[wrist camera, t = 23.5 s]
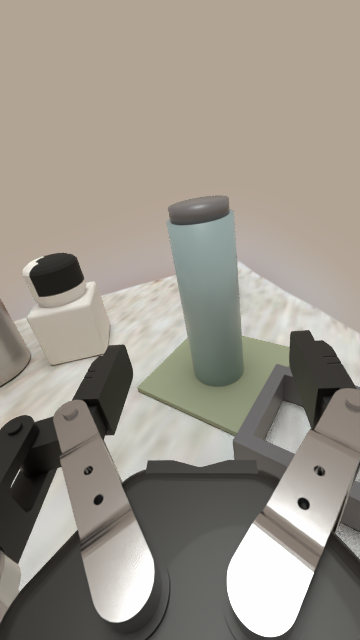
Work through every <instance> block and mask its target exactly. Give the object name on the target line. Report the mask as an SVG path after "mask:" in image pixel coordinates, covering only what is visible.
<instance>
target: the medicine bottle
mask: <svg viewBox="0 0 360 640" xmlns="http://www.w3.org/2000/svg"><path fill="white" fill-rule="evenodd" d="M22 275H23V277H24V279H25V281H26V283H27V285H28V287H29V289H30V291H31V293H32V295H33V297H34V299H35V301H36V304H35V305H34V307H33V309H32V310H31V312H30V313H29V315H28V316H27V321H28V323H29V324H30V326H31V328H32V330H33V332H34V334H35V336H36V338H37V340H38V342H39V344H40V345H41V347H42V349H43V351H44V353H45V355H46V357H47V359H48V361H49V363H50V364H51V365H56V364H60V363H65V362H69V361H74V360H78V359H83V358H87V357H92V356H96V355H101V354H104V353H105V351H106V349H107V347H108V340H109V331H110V322H109V319H108V316H107V313H106V310H105V307H104V304H103V302H102V299H101V296H100V293H99V290H98V287H97V284H96V282H88V283H86V282H85V279H84V276H83V274H82V271H81V269H80V266H79V263H78V260H77V258H76V257H75V256H74V255H72V254H67V253H57V254H51V255H47V256H43V257H40V258H38V259H35V260H33V261H32V262H30V263H29V264H28V265H27V266H25V268H24V269H23V272H22Z"/></svg>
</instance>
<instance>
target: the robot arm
mask: <svg viewBox="0 0 360 640" xmlns="http://www.w3.org/2000/svg"><path fill="white" fill-rule="evenodd" d="M30 356H31V355H30V351H29V349H28V348H27V346H26V344H25V342H24V340H23V339H22V337H21V335H20V333H19V331H18V330H17V327H16V326H15V324H14V322H13V320H12V319H11V317H10V315H9V313H8V311H7V310H6V308H5V306H4V304H3V302H2V301H1V299H0V386H1V385H3V384H4V383H6V382H8V381H9V380H11V379H12V378H13V377H15V376H16V375H17V374H18V373H19V372H21V371H22V370H23V369H24V367H25V366H26V365H27V363H28V362H29V360H30ZM289 364H290V369H291V372H292V375H293V378H294V381H295V384H296V387H297V389H298V392H299V395H300V398H301V401H302V403H303V406H304V409H305V412H306V415H307V417H308V420H309V423H310V426H311V429H310V430H309V432H308V433H307V435H306V436H305V438H304V440H303V442H302V444H301V445H300V447H299V449H298V451H297V452H296V454H295V456H294V458H293V459H292V461H291V463H290V465H289V466H288V468H287V470H286V472H285V473H284V475H283V477H282V479H279V478H278V477H276V476H274V475H273V474H271V473H268V472H266V471H263V470H259V469H257V463H256V460H227V461H223V462H219V463H216V464H212V465H208V466H204V467H196V466H192V465H189V464H185V463H181V462H177V461H174V460H158V461H148V463H147V468H146V470H143V471H140V472H138V473H136V474H134V475H132V476H130V477H129V478H128V479H126V480H125V481H124V482H122V479H121V477H120V475H119V473H118V471H117V468H116V466H115V464H114V462H113V459H112V457H111V455H110V453H109V450H108V448H107V446H106V444H105V442H104V437H105V435H114V434H115V431H116V428H117V425H118V422H119V419H120V416H121V413H122V410H123V407H124V404H125V401H126V398H127V394H128V391H129V388H130V385H131V382H132V379H133V369H132V365H131V362H130V359H129V356H128V353H127V350H126V347H125V345H110V346H108V347H107V349H106V351H105V353H104V355H103V356H99V357H98V358H97V359H96V360H95V361H94V362H93V363H92V364H91V366H90V368H89V369H88V372H87V373H86V375H85V377H84V379H83V381H82V383H81V384H80V386H79V388H78V390H77V392H76V394H75V396H74V397H73V399H72V401H69V402H67V403H65V404H64V405H62V406H61V407H60V408H59V409H58V410H57V411H56V413H55V414H54V416H53V417H50V418H47V419H44V420H40V421H37V422H34V420H33V419H32V417H31V416H27V415H23V416H19V417H16V418H14V419H12V420H11V421H9V422H8V423H6V424H5V425H4V426H3V427H2V428H1V430H0V640H360V559H359V558H358V557H357V556H356V555H355V554H354V553H353V552H352V551H351V550H350V549H349V547H348V546H347V545H346V544H345V543H344V542H343V541H342V540H341V539H340V538H339V537H338V536H337V535H336V531H337V528H338V526H339V523H340V520H341V518H342V515H343V512H344V509H345V506H346V503H347V500H348V498H349V495H350V492H351V490H352V487H353V485H354V482H355V479H356V477H357V474H358V471H359V469H360V390H357V388H356V387H355V385H354V383H353V382H352V380H351V378H350V377H349V375H348V373H347V372H346V370H345V368H344V367H343V365H342V364H341V362H340V360H339V358H338V357H337V355H336V353H335V351H334V350H333V348H332V347H331V346H330V345H328V344H327V343H326V342H324V341H323V340H321V341H315V340H314V338H313V336H312V334H311V332H310V331H309V330H305V331H292V332H291V335H290V350H289ZM59 467H62V470H63V474H64V478H65V482H66V485H67V489H68V493H69V497H70V501H71V505H72V509H73V513H74V517H75V521H76V525H77V529H78V530H77V531H76V532H75V533H74V534H73V535H72V536H71V537H70V539H69V540H68V541H67V542H66V543H65V544H64V545H63V546H62V547H61V548H60V549H59V550H58V551H57V552H56V553H55V555H54V556H53V557H52V558H51V559H50V560H49V561H48V562H47V563H46V564H45V565H44V566H43V567H42V568H41V570H40V571H39V572H38V573H37V574H36V575H35V576H34V577H33V578H32V579H31V580H30V581H29V582H28V583H27V584H26V586H25V587H24V588H23V589H22V590H21V591H20V592H19V589H18V588H19V584H20V579H21V571H20V567H19V566H18V563H19V560H20V558H21V555H22V553H23V551H24V548H25V546H26V543H27V541H28V538H29V536H30V534H31V531H32V529H33V526H34V524H35V521H36V519H37V517H38V514H39V512H40V509H41V507H42V504H43V502H44V500H45V497H46V495H47V492H48V490H49V487H50V485H51V483H52V480H53V478H54V475H55V473H56V470H57V468H59ZM19 469H20V472H19V474H18V476H17V478H16V479H15V481H14V483H13V485H12V482H13V480H14V478H15V477H16V475H17V473H18V471H19ZM11 485H12V487H11Z"/></svg>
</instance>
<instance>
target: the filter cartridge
mask: <svg viewBox="0 0 360 640" xmlns="http://www.w3.org/2000/svg"><path fill="white" fill-rule="evenodd" d="M168 211H169V217H170V220H168V221H167V228H168V233H169V238H170V244H171V249H172V255H173V260H174V265H175V271H176V276H177V281H178V287H179V292H180V297H181V303H182V308H183V313H184V319H185V324H186V329H187V335H188V340H189V346H190V351H191V356H192V362H193V367H194V372H195V376H196V377H197V379H198V380H199V381H200V382H202V383H204V384H206V385H209V386H216V387H219V386H226V385H229V384H232V383H234V382H236V381H237V380H238V379H239V378H240V377H241V376H242V374H243V371H244V363H243V347H242V332H241V316H240V301H239V285H238V270H237V255H236V239H235V223H234V211H233V210H231V209H229V198H228V197H227V196H207V197H200V198H195V199H189V200H185V201H181V202H178V203H175V204H173V205H171V206H169V207H168Z"/></svg>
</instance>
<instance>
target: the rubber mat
mask: <svg viewBox="0 0 360 640" xmlns="http://www.w3.org/2000/svg"><path fill="white" fill-rule="evenodd" d="M242 347H243V363H244V371H243V374H242V376H241V377H240V378H239V379H238V380H237V381H236V382H234V383H232V384H229V385H226V386H219V387H216V386H209V385H206V384H204V383H202V382H200V381H199V380H198V379H197V377H196V376H195V372H194V367H193V362H192V356H191V351H190V346H189V340H188V338H187V339H186V340H185V341H184V342H183V343H182V344H181V345H180V346H179V347H178V348H177V349H176V350H175V351H174V352H173V353H172V354H171V355H170V356H169V357H168V358H167V359H166V360H165V361H164V362H163V363H162V364H161V365H160V366H159V367H158V368H157V369H156V370H155V371H154V372H153V373H152V374H151V375H150V376H149V377H148V378H147V379H146V380H145V381H144V382H143V383H142V384H141V385H139V386H138V387H137V388H138V391H139V392H141V393H144V394H146V395H148V396H150V397H152V398H154V399H157V400H159V401H161V402H163V403H165V404H167V405H169V406H172V407H174V408H176V409H178V410H180V411H182V412H185V413H187V414H189V415H191V416H193V417H195V418H198V419H200V420H202V421H204V422H206V423H208V424H211V425H213V426H215V427H217V428H219V429H221V430H224V431H226V432H228V433H230V434H232V435H234V436H236V434H237V432H238V431H239V429H240V427H241V425H242V424H243V422H244V420H245V418H246V416H247V415H248V413H249V411H250V409H251V408H252V406H253V404H254V402H255V401H256V399H257V397H258V395H259V394H260V392H261V390H262V388H263V386H264V385H265V383H266V381H267V379H268V378H269V376H270V374H271V372H272V371H273V369H274V367H275V365H276V364H279V365H283V366H286V367H290V364H289V350H290V347H286V346H282V345H278V344H274V343H270V342H265V341H261V340H257V339H253V338H249V337H245V336H242Z"/></svg>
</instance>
